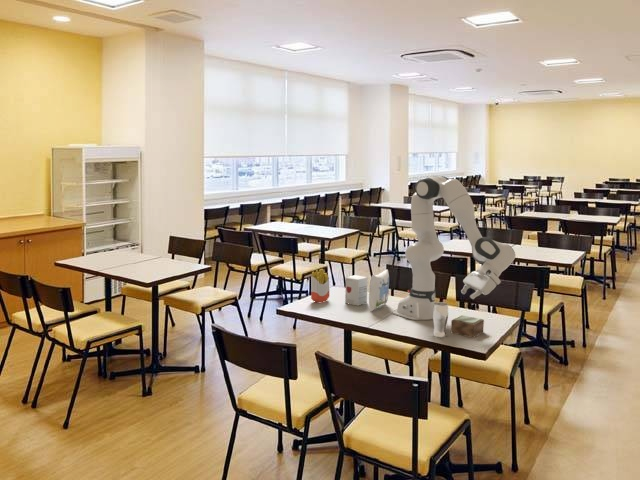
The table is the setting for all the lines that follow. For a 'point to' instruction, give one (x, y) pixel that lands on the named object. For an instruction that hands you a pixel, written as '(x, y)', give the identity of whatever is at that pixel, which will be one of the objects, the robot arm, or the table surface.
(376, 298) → the pouch
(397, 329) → the table surface
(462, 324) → the brown green square block
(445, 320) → the beer glass
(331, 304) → the table surface
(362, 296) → the supplement box
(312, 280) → the french fries container
